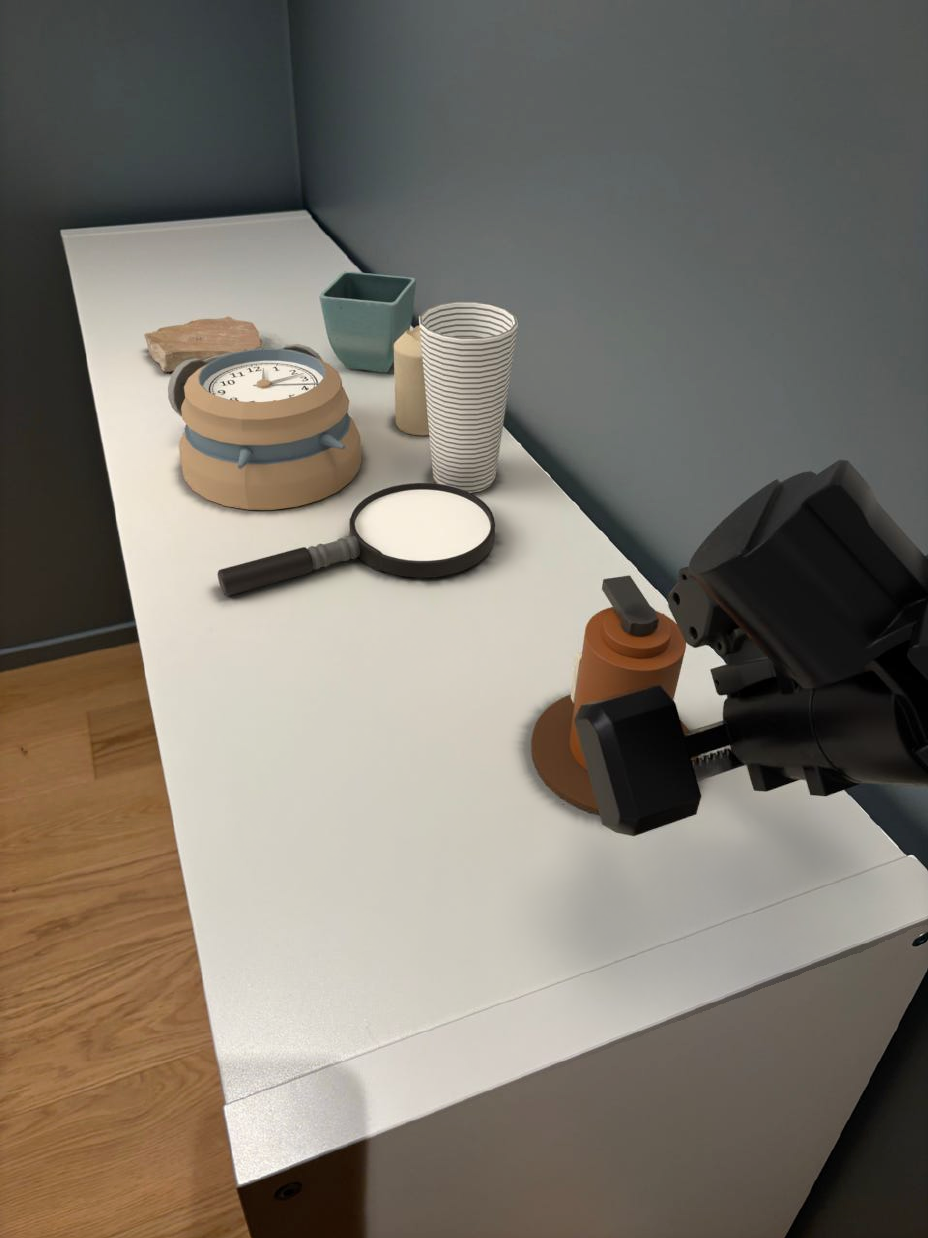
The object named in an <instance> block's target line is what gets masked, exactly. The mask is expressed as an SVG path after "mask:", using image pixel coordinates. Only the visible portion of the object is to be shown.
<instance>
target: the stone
mask: <svg viewBox="0 0 928 1238" xmlns="http://www.w3.org/2000/svg"><path fill="white" fill-rule="evenodd" d="M143 336H144V339H145V341H146V342H145V343H146V345H147V348H148V353H149V355H150V356H151V358H152V359H153V360H154V361H155V363H158V364H159V366H160V370H161V371H162V372H174V370H175V369H176V367H177V366H178V365H180V364H181V363H182V362H184V361H186V360H190V359H195V358H197V359H200V360H205V359H208V358H210V357H214V356H218V355H223V354H229V353H235V352H240V351H245V350H253V349H263V348H262V341H261V337H260V332H259V331H258V328H257V327H256V326H255V324H254V323H253V322H252V321H246V320H239V319H235V318H233V317H231V316H226V317H223V318H201V319H195V320H191V321H189V322H186V323H183V324H178V325H177V324H176V325H169V326H163V327H159V328H157V330H155V331H152V332H146V333H143ZM209 363H210V362H209Z"/></svg>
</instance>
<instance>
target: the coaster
mask: <svg viewBox="0 0 928 1238" xmlns="http://www.w3.org/2000/svg"><path fill="white" fill-rule="evenodd" d="M574 705H575V703H573V701H572V699H571V694H568V695H566V696H564V697H561V698H560V699H558V700H556V701H555V702H553V703H552V704H550V705H549V706H548V707H547V708H546V709H545V710H543V712H542V713H541V714H540V716H539V717H538V719H537V721H536V722H535V724H534V728H533V730H532V736H531V743H530V745H531V746H530V750H531V751H530V752H531V757H532V762H533V764H534V768H535V769H536V771H537V774H539V776H540V778H541V779H542V781H543V782H544V783H545V784H546V786H547V787H548V788H549V789H550V790H551V791H552V792H553V793H555V794H556V795H557V796H558V797H559V798H561V799H562V800H564V801H566V802H567V804H570V805H572V806H574V807H576V808H577V809H580V810H582V811H585V812H588V813H591V814H594V815H598V816H600V814H599V810H598V807H597V803H596V799H595V796H594V792H593V789H592V785H591V781H590V778H589V774H588V771H587V770H586V769H584V768H583V767H582V766H581V765H580V764H579V763H578V762H577V761H576V759H575V758H574V756H573V754H572V752H571V749H570V734H571V727H572V720H573V712H574ZM680 721H681V725H682V728H683V732H684V733H685V732H688V731H690V730H689V728H688V727H687V726H686V725H685V723H684V722H683V721H682V720H681V719H680ZM698 757H700V755H699V756H695V757H692V758H691V760H695V762H696V758H698Z"/></svg>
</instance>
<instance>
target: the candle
mask: <svg viewBox="0 0 928 1238" xmlns="http://www.w3.org/2000/svg"><path fill="white" fill-rule="evenodd" d="M393 367H394V368H393V369H394V370H393V372H394V373H393V375H394V376H393V377H394V404H395V405H394V410H395V424H396V427H397V428H398V429H399V430H400V431H401V432H403V433H406V434H408V435H414V436H429V425H428V413H427V402H426V391H425V380H424V369H423V357H422V346H421V335H420V325H416V326H415V327H413V328H412V329H411V330H407V331H406V332H405V333H404V334H403V335H402V336H401V337H400V338H399V339H398V340H397V341H396V342H395V343H394V363H393Z"/></svg>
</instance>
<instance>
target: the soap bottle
mask: <svg viewBox="0 0 928 1238" xmlns="http://www.w3.org/2000/svg"><path fill="white" fill-rule="evenodd" d="M601 591H602V592H603V593H604V595H605V597H606V598H607V600H608V602H609V603H610V605H611V607H607V608H604V609H602V610H600V611H599V612H596V613H595V614H593V615H592V616H591V618H590V619H589V620H588V622H587V623H586V625H585V628H584V636H583V642H582V649H581V652H577V653H576V654H575V655H576V656H575V663H574V671H573V676H572V677H573V678H572V684H571V692H570V695H571V699H572V701H573V703H575V705H574V712H573V720H572V727H571V734H570V749H571V752H572V754H573V756H574V758H575V759H576V761H577V762H578V763H579V764H580V765H581V766H582V767H583V768H584V769H586V770H587V767H586V763H585V759H584V756H583V752H582V748H581V745H580V741H579V737H578V734H577V730H576V726H575V723H574V718H575V716H576V714H577V712H578V710H579V708H580V706H581V705H583V704H586V703H590V702H593V701H597V700H600V699H603V698H607V697H610V696H614V695H617V694H620V693H624V692H627V691H631V690H635V689H640V688H644V687H648V686H655V685H661V686H662V688H663V689H664V690H665V691H666V692H667V694H668V695H669V696H670V697H671V698H672V700H673V701H675V695H676V691H677V687H678V683H679V679H680V675H681V670H682V667H683V662H684V658H685V653H686V649H687V643H686V641H685V639H684V637H683V635H682V633H681V631H680V629H679V627H678V625H677V623H676V621H675V620H674V619H672V618H670V617H669V616H667V615H666V614H664V613H662V612H660V611H657V610H655V609H654V607H652V606H651V605H650V603H649V601H648V600H647V598H646V597H645V595H644V594H643V592H642V591H641V589H640V588H639V587H638V585H637V584H636V582H635V581H634V579H633V577H632V576H631V575H623V576H615V577H608V578H603V579H602V583H601ZM587 771H588V770H587Z"/></svg>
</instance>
